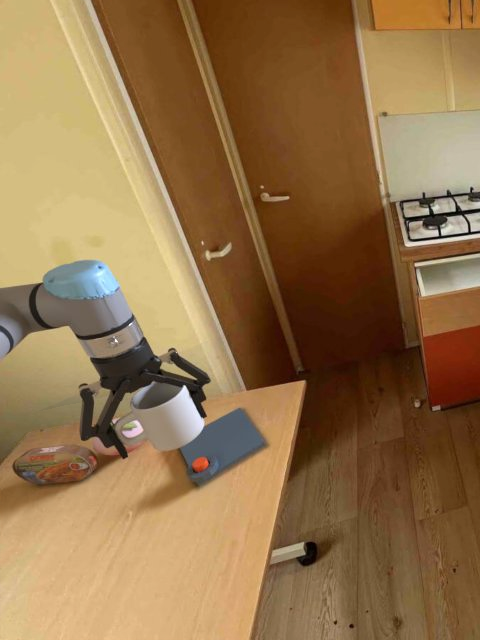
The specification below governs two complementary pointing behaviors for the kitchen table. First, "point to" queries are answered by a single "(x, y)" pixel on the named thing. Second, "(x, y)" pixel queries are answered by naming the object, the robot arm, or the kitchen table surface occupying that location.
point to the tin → (55, 464)
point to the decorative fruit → (128, 430)
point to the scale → (222, 445)
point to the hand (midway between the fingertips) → (165, 433)
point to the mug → (162, 417)
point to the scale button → (200, 464)
